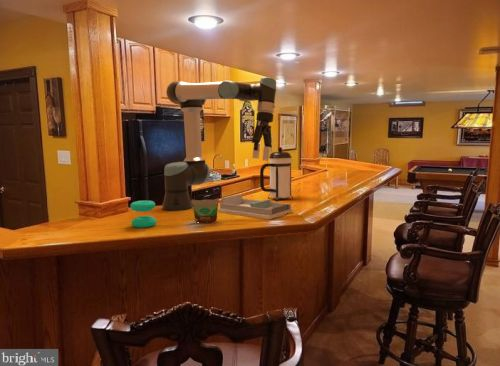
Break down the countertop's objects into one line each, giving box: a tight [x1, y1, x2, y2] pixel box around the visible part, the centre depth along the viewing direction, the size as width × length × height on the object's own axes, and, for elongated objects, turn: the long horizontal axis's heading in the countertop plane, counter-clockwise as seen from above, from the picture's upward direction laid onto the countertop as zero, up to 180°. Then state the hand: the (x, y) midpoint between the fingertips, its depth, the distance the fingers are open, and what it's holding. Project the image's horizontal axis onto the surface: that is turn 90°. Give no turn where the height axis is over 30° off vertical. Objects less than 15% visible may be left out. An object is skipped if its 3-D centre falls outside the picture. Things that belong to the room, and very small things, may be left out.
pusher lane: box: [217, 193, 294, 220], centre depth 178 cm, size 30×20×6 cm, turn 52°
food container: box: [191, 198, 220, 224], centre depth 158 cm, size 12×6×10 cm, turn 105°
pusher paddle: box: [250, 198, 271, 208], centre depth 178 cm, size 6×14×4 cm, turn 142°
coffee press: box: [259, 146, 294, 202], centre depth 211 cm, size 17×16×30 cm
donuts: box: [129, 199, 157, 229], centre depth 154 cm, size 10×10×10 cm
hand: (260, 159), depth 168 cm, fingers open, 13 cm apart
